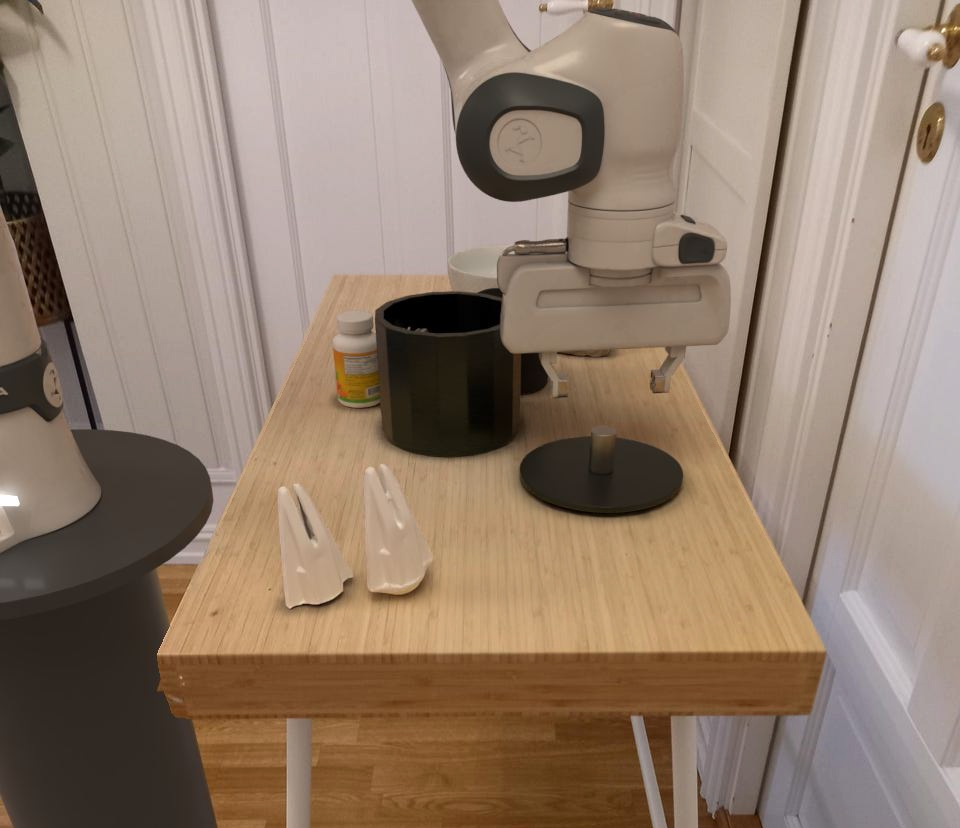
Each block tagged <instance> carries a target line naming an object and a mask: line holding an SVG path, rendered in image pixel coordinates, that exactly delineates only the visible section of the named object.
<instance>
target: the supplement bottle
mask: <svg viewBox="0 0 960 828" xmlns="http://www.w3.org/2000/svg"><path fill="white" fill-rule="evenodd" d="M336 326H337V331H338V333H337V334H336V335H335V336H334V337H333V339H332V353H333V354H332V355H333V362H334V363H333V364H334V374H335V384H336V385H335V386H336V394H337V400H338V403H340V404H341V405H343V406H345V407H348V408H353V409H360V408H369V407H373V406H377V405H379V404H381V401H380V387H379V373H378V359H377V344H376V331H375V332H374V331H373V329H374V327H375V322H374V316H373V313H371V312H370V311H366V310H348V311H343V312H340V313H339V314H337V316H336Z"/></svg>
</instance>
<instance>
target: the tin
mask: <svg viewBox="0 0 960 828" xmlns="http://www.w3.org/2000/svg"><path fill="white" fill-rule="evenodd" d="M501 306H502V298H500V297H496V296H492V295H488V294H483V293H471V292H460V291H459V292H458V291H453V290H451V291H429V292H423V293H416V294H408V295H405V296H401V297H398V298H394V299H392V300H388V301H385V303H383V304H381V305H380V306H379V307H378V308H376V309H375V311H374V330H375V333H376V344H377V359H378V373H379V387H380V401H381V403H380V414H381V428H382V433H383V436H384V438H385V439H386V440H387V442H388V443H390V444H391V445H393V446H394V447H396V448H397V449H401V450H403V451H406V452H409V453H413V454H416V455H420V456H421V455H423V456H428V457H436V458H437V457H440V458H457V457H458V458H459V457H467V456H469V457H470V456H476V455H481V454H485V453H489V452H492V451H495V450H498V449H500V448H502V447H505V446H506V445H508V444H509V443H510V442H512V441H514V439H515V438H516V437H517V435H518V433H519V430H520V427H521V395H522V394H521V353H520V354H513V353H510V352H509V351H508V349H507V348H506V347H505V346H504V345H503V343H502V341H501V336H500V317H501ZM408 327H410V330H407V329H408ZM404 328H405V329H404ZM418 328H420V329H423V328H425V329H427V330H428V332H429V333H427V332H417V331H415V330H417V329H418Z"/></svg>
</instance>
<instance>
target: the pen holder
mask: <svg viewBox="0 0 960 828" xmlns="http://www.w3.org/2000/svg"><path fill="white" fill-rule="evenodd" d="M477 293H483V294H488V295H492V296H496V297H500V298H503V293H502V292H501V291H500V289H499V288H490V289H485V290H482V291H480V292H477ZM548 382H549V376H548V374H547V372H546V371H545V369H544V367H543V366H542V364H541V361H540V358H539V353H521V395H524V394H525V395H526V394H529V393H530V394H531V393H534V392H537V391H539V390H541V389H543V388H544V387H545V386H546V385H547V383H548Z"/></svg>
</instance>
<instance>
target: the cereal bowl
mask: <svg viewBox="0 0 960 828" xmlns="http://www.w3.org/2000/svg"><path fill="white" fill-rule="evenodd" d="M511 246H514V243H513V244H491V245H483V246H482V245H481V246H476V247H470V248H466V249H463V250H460V251H458V252H455V253H453V254H452V255H451V256H450V257H449V258H448V260H447V275H448V280H449V285H450V288H451V291H458V292H459V291H460V292H471V293H477V292H480V291H482V290H485V289H490V288H499V287H498V284H497V261H498V258H499V256H500V255H501V253H502V252H503V251H504V250H505V249H507V248H508V247H511ZM508 254H515V253H514V251H512V252H510V253H508Z"/></svg>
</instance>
